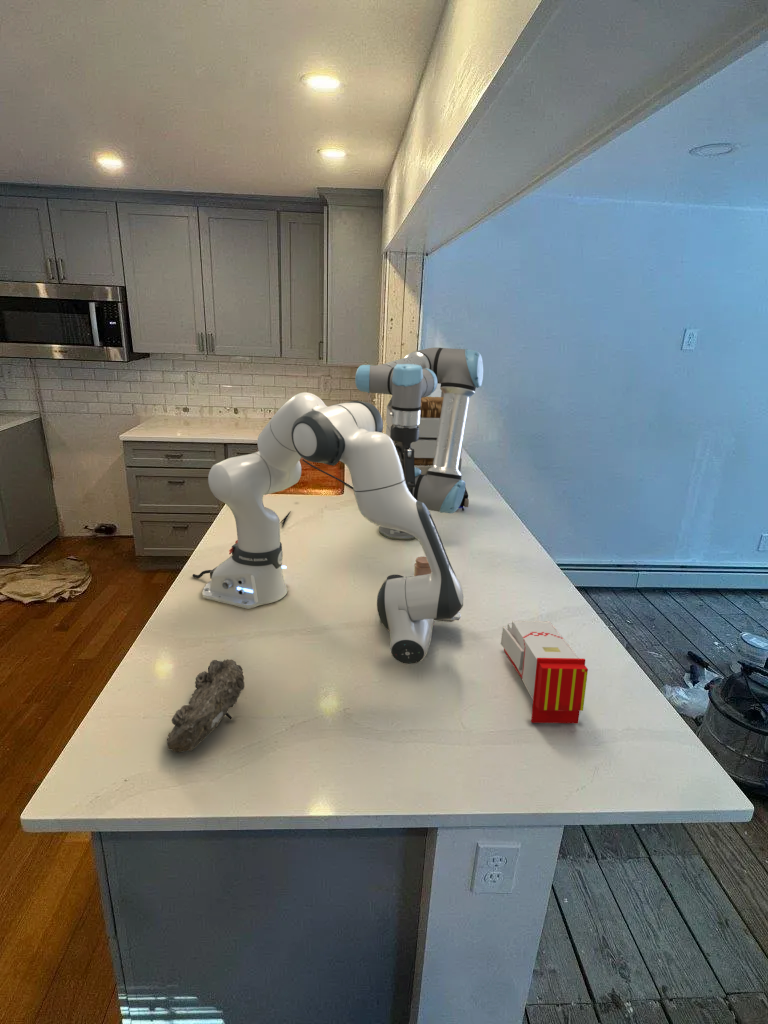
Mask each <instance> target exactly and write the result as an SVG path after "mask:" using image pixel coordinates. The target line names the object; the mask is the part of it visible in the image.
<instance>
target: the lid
mask: <svg viewBox="0 0 768 1024" xmlns="http://www.w3.org/2000/svg"><path fill="white" fill-rule="evenodd" d="M401 577H405V576H404V575H402V574H390V575H387V576H386V580H387V579H388V580H389V579H394V578H401Z"/></svg>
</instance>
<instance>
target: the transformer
mask: <svg viewBox="0 0 768 1024" xmlns="http://www.w3.org/2000/svg"><path fill="white" fill-rule="evenodd" d="M440 393H441V394H440V396H426V397H423V398H421V406H420V409H421V411H420V424H419V425H418V427H419V439H418V441H416V442H412V443H411V448H412V449H414V451H415V452H414V467H417V466H418V467H432V466H433V461H434V455H435V448H436V442H437V435H438V429H439V422H440V416H441V409H442V403H443V397H444V394H443V392H442V391H441V392H440ZM391 412H392V397H391V398H390V400H389V402H388V404H387V405H386V413H385V414H386V415H385V423H386V428H385V434H387V435H388V436H389V437H390V431H391V426H392V425H393V424H392V423H391V416H389V413H391ZM392 441H393V440H392ZM463 442H464V440H463V441H462V444H463ZM393 443H394V441H393ZM462 453H463V447H462V448H461V454H460V460H459V466H458V470H459V471H460V473H461V472H462V461H463V460H462ZM461 474H462V473H461Z"/></svg>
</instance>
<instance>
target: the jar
mask: <svg viewBox="0 0 768 1024" xmlns="http://www.w3.org/2000/svg"><path fill="white" fill-rule="evenodd" d="M413 566H414V567H413V576H419V575H427V574H431V573H432V571H431V568H430V566H429V563H428V561H427V558H426V556H418V557H416V558H415V562H414V565H413Z"/></svg>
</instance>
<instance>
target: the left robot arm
mask: <svg viewBox="0 0 768 1024" xmlns="http://www.w3.org/2000/svg"><path fill="white" fill-rule="evenodd" d="M383 429H384V422H383V417H382V415H381V413H380V411H379V410H378V408H377V407H376V406H375V405H374V404H372V403H370V402H367V401H360V400H349V401H347V402H346V401H345V402H341V403H335V404H331V405H329V406H328V405H326V404H325V402H324V401H323V399H322V398H320V397H319V396H318V395H316V394H314V393H311V392H305V391H304V392H298V393H296V394H295V395H293V396H292V397H291V398H289V399H288V400H287V401H286V402H285V403H283V405H281V407H279V408H278V410H277V411H276V412H275V413H274V414H273V416H272V417H271V419H269V421H268V422H267V424H265V426H264V428H263V429H262V430H261V432H260V433H259V434H258V437H257V440H256V443H257V450H258V451H255V452H253V453H248V454H243V455H238V456H232V457H228V458H226V459H223V460H221V461H219V462H217V463H215V464H213V465H212V466H211V467H210V469H209V472H208V477H207V483H208V487H209V490H210V492H211V494H212V495H213V496H214V497H215V498H216V499H217V500H218V501H220V502H221V503H223V504H225V505H226V506H227V507H228V508H229V509H230V511H231V512H232V515H233V517H234V519H235V527H236V537H237V539H236V540H235V543H234V544H233V545H231V548H229V550H228V552H229V553H228V555H229V556H230V557H228V558H227V559H225V560H223V561H222V562H221V563H219V565H217V566H215V567H214V568H213V569H205V570H202V571H201V572H200V573H199V574H196V573H193V574H192V575H191V576H192V578H194V579H200V578H202V577H203V576H205V575H207V574H209V579H210V580H209V581H208V582H207V583H206V584H205V585H204V587H203V589H202V593H201V594H202V598H203V599H207V600H210V601H213V602H214V601H215V602H218V603H222V604H227V605H231V606H235V607H239V608H242V609H246V610H247V609H249V610H250V609H254V608H257V607H259V606H262V605H263V606H264V605H268V604H272V603H275V602H278V601H280V600H282V599H283V598H285V596H286V595H287V593H288V587H287V584H286V582H285V578H284V577H285V576H284V573H283V569H287V566H286V565H282V564H283V558H284V557H283V556H284V553H283V543H282V542H281V523H280V522H281V521H280V520H281V519H280V517H279V515H278V514H277V512H275V511H274V510H273V509H271V508H269V507H266V506H265V505H264V500H263V498H264V496H266V495H270V494H271V495H272V494H275V493H278V492H282V491H285V490H288V489H289V488H291V487H293V486H294V485H296V484H297V483H298V482H299V481H300V479H301V476H302V464H301V459H304V460H305V461H307V462H311V463H317V464H318V463H319V464H325V465H328V466H331V467H332V466H333V467H335V466H336V465H338V463H339V462H341V463H343V464H344V465H345V466H346V467H347V469H348V471H349V475H350V479H351V484H352V487H353V489H354V490H353V489H352V490H353V493H354V494H353V495H354V498H355V501H356V505H357V508H358V510H359V512H360V514H361V515H362V517H364V518H365V520H366V521H369V522H370V523H372V524H374V525H376V526H379V527H380V526H381V527H385V528H389V529H395V530H399V531H403V532H406V533H408V534H411V535H412V536H414V537H415V539H416V540H417V541H418V542H419V544H420V547H421V548H422V551H423V553H424V557H426V558H427V561H428V563H429V566H430V568H431V571H432V573H431V574H427V575H419V576H414V575H412V576H404V577H401V578H394V579H389V580H388V579H387V578H386V580H384V582H383V583H382V584H381V586H380V588H379V590H378V593H377V598H376V609H377V615H378V618H379V622H380V625H382V626H383V627H384V628H385V629H386V630H387V631H388V632H389V650H390V654H391V656H392V657H393V659H394V660H395V661H397V662H399V663H401V664H404V665H414V664H417V663H420V662H421V661H423V659H424V658H425V657H426V655H428V651H429V649H430V645H431V641H432V635H433V628H434V625H435V624H434V623H435V621H436V622H444V623H445V622H446V623H453V622H455V621H459V620H460V619H461V612H460V611H461V610H462V608H463V607H464V590H463V588H462V585H461V582H460V581H459V579H458V577H457V575H456V573H455V570H454V568H453V567H452V564H451V562H450V559H449V556H448V554H447V551H446V549H445V545H444V543H443V541H442V538H441V536H440V533H439V530H438V528H437V525H436V524H435V521H434V519H433V516H432V514H431V512H430V510H428V508H427V507H426V505H425V504H424V503H422V502H420V501H417V500H416V499H415V498H414V497H413V496H412V494H411V493H410V492H409V490H408V488H407V485H406V482H405V477H404V473H403V469H402V465H401V462H400V459H399V456H398V453H397V450H396V448H395V445H394V443H393V441H392V439H391V438H390V437H389V436H388V435H387V434H386V433H384V432H383V431H384V430H383Z"/></svg>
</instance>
